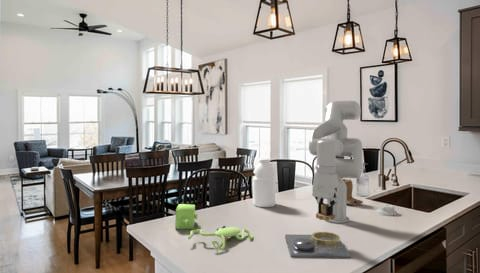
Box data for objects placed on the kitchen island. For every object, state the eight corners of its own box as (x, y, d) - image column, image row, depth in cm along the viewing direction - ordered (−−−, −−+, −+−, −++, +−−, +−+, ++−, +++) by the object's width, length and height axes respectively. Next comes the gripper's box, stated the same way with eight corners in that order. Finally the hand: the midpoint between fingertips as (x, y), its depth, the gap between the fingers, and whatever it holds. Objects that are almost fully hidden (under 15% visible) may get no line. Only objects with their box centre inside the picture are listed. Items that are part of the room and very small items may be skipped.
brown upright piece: (331, 201, 208) (331, 178, 207) (346, 199, 212) (346, 176, 211) (347, 207, 194) (347, 182, 193) (363, 205, 198) (363, 180, 197)
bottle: (263, 200, 210) (263, 157, 209) (280, 204, 200) (280, 158, 199) (248, 204, 201) (247, 158, 200) (264, 208, 191) (264, 160, 189)
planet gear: (314, 215, 140) (314, 202, 140) (332, 215, 140) (332, 202, 140) (318, 220, 133) (318, 206, 132) (336, 220, 132) (337, 207, 132)
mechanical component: (400, 216, 176) (391, 211, 186) (400, 208, 176) (391, 203, 186) (382, 216, 176) (374, 211, 186) (382, 208, 176) (374, 203, 186)
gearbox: (195, 233, 152) (196, 213, 151) (173, 232, 151) (174, 212, 150) (198, 220, 169) (198, 202, 169) (178, 220, 169) (179, 201, 168)
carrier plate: (285, 237, 143) (285, 229, 143) (336, 238, 143) (336, 230, 143) (290, 256, 124) (290, 247, 123) (349, 257, 123) (350, 248, 123)
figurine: (182, 244, 137) (182, 231, 137) (227, 229, 157) (227, 217, 156) (212, 257, 124) (212, 242, 124) (257, 238, 144) (257, 225, 144)
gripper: (304, 168, 140) (304, 211, 141) (336, 173, 126) (336, 220, 127) (316, 167, 144) (316, 208, 145) (348, 171, 131) (348, 217, 132)
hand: (325, 213), depth 136 cm, fingers closed on planet gear, 3 cm apart
